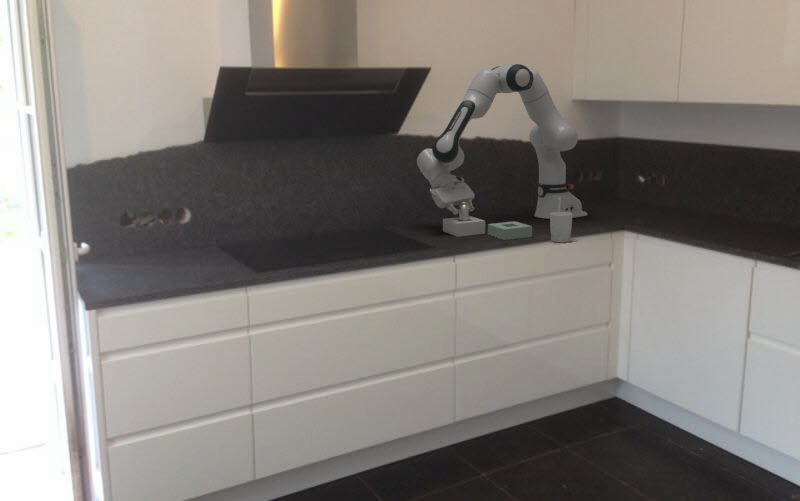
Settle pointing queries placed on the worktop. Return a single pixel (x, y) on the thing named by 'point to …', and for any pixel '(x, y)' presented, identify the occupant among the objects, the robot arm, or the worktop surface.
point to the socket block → (509, 230)
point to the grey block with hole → (464, 226)
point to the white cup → (560, 226)
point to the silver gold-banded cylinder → (463, 211)
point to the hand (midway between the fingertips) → (465, 212)
